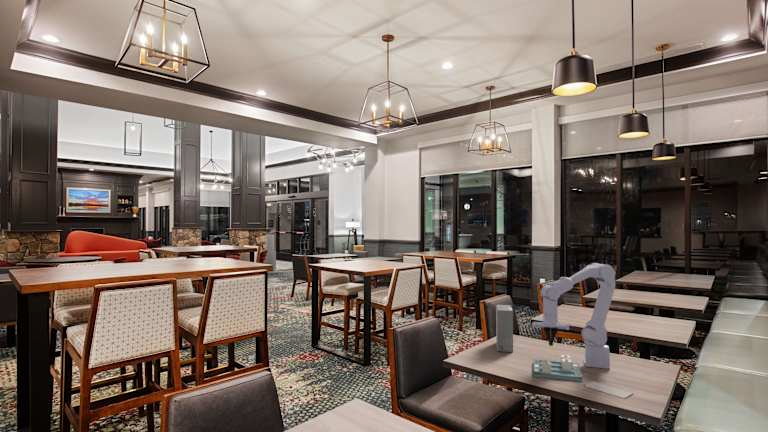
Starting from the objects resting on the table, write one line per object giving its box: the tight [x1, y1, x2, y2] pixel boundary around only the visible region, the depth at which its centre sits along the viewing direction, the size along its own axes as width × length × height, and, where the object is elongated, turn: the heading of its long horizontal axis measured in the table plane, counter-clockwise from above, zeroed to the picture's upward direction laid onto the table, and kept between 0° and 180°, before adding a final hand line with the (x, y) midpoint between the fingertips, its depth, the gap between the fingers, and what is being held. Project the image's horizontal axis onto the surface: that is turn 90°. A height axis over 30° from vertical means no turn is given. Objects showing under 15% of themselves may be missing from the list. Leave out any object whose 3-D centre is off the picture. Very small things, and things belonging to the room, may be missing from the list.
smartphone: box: [583, 381, 634, 400], centre depth 154 cm, size 7×1×15 cm
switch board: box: [532, 358, 584, 383], centre depth 173 cm, size 18×17×2 cm
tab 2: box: [560, 353, 572, 365], centre depth 177 cm, size 4×4×5 cm
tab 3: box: [562, 358, 573, 371], centre depth 172 cm, size 4×4×5 cm
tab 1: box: [542, 359, 551, 374], centre depth 169 cm, size 4×4×5 cm
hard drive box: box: [495, 304, 514, 353], centre depth 207 cm, size 16×8×20 cm, turn 167°
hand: (550, 345), depth 179 cm, fingers closed
